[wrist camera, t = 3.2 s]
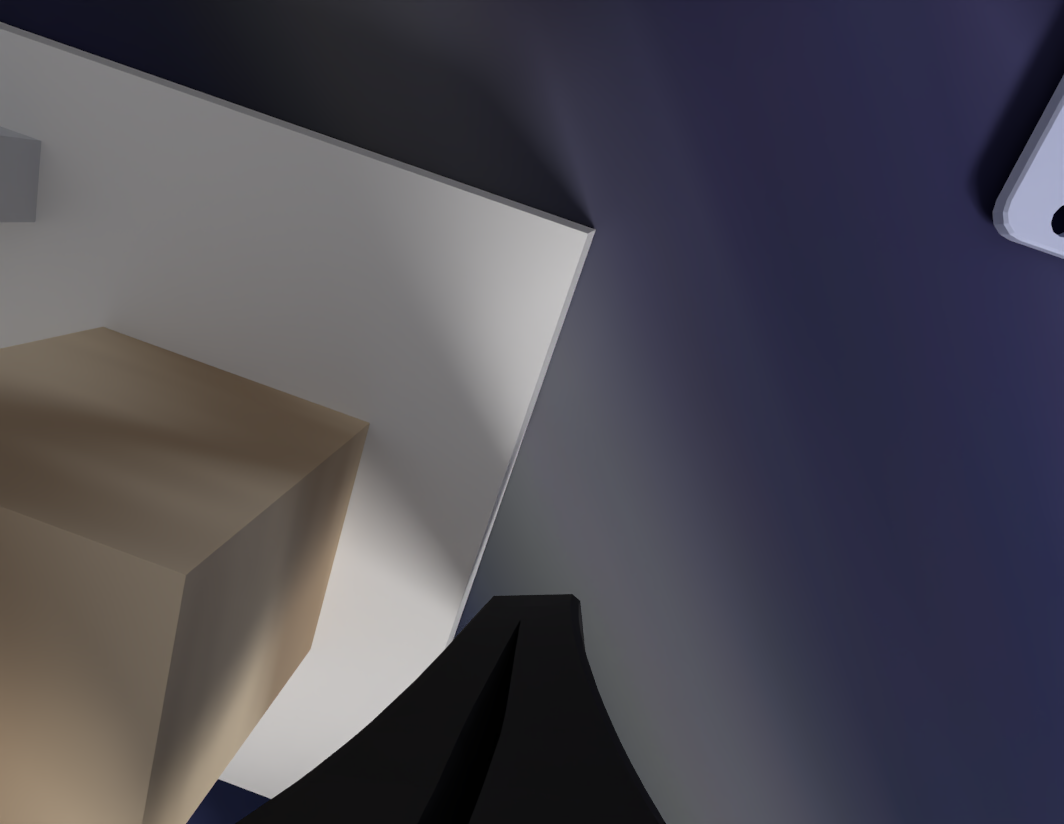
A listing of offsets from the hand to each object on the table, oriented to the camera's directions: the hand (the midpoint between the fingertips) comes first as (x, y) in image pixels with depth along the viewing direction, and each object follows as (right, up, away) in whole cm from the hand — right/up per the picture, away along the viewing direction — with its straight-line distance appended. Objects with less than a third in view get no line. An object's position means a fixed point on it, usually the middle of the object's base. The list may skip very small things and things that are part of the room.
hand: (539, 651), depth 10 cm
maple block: (-6, +2, +1) cm, 6 cm away
